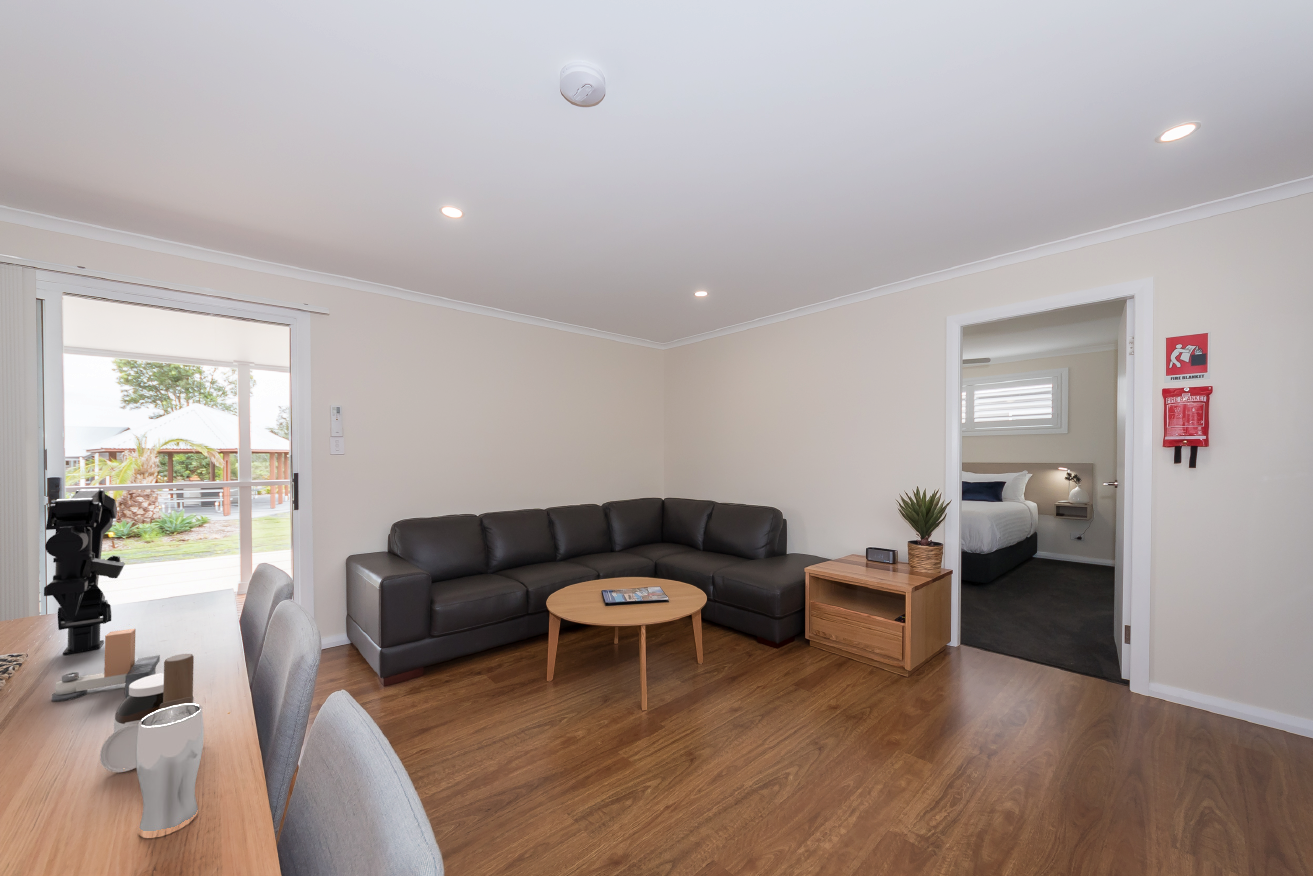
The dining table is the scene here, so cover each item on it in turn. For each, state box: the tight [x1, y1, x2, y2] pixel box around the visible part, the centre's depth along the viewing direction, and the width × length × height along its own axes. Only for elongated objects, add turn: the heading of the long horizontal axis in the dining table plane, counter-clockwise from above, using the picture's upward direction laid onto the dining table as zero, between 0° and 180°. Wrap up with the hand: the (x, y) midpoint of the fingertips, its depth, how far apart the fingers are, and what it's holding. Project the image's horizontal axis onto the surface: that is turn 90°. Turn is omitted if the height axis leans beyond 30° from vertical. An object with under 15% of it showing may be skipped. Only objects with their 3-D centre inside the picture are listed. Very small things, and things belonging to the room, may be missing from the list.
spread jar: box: [99, 672, 195, 773], centre depth 90 cm, size 12×11×12 cm
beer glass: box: [135, 703, 204, 831], centre depth 73 cm, size 7×7×15 cm
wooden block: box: [160, 653, 195, 710], centre depth 83 cm, size 4×11×18 cm, turn 41°
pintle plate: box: [51, 672, 89, 703], centre depth 110 cm, size 5×5×4 cm
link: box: [55, 628, 157, 695], centre depth 113 cm, size 15×4×11 cm, turn 121°
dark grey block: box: [124, 654, 161, 700], centre depth 114 cm, size 4×11×5 cm, turn 35°
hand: (72, 616), depth 124 cm, fingers closed
